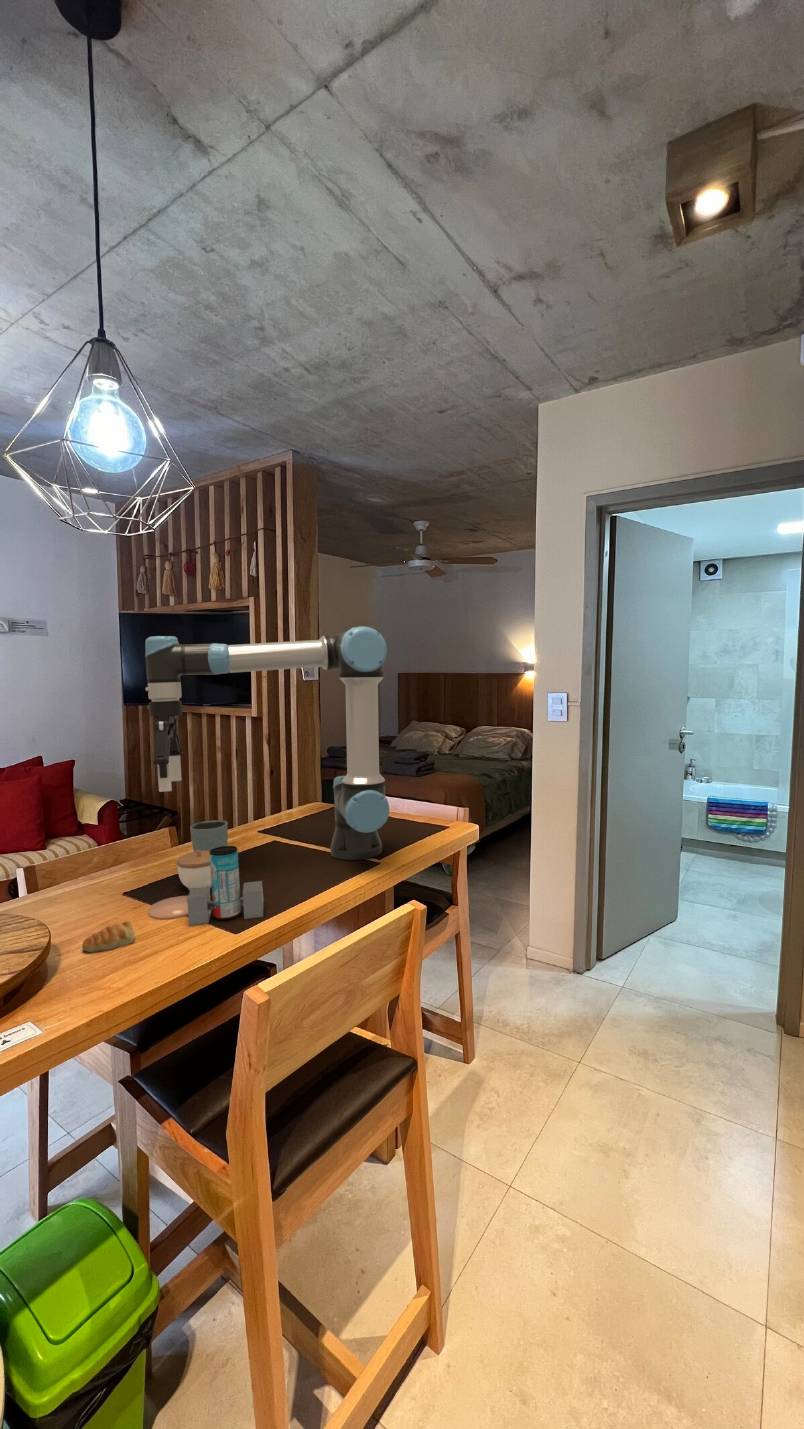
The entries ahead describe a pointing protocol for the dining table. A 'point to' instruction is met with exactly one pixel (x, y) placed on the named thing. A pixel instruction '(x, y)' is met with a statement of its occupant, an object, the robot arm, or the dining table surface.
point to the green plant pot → (209, 835)
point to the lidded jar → (195, 869)
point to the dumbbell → (202, 905)
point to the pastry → (110, 938)
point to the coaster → (169, 908)
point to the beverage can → (225, 882)
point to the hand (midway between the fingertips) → (170, 785)
